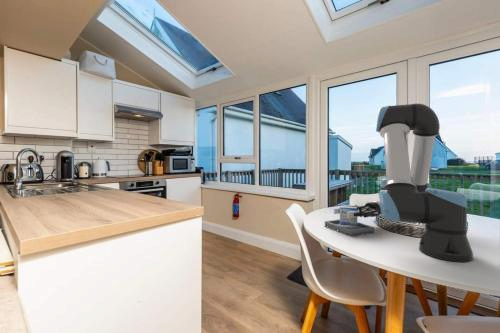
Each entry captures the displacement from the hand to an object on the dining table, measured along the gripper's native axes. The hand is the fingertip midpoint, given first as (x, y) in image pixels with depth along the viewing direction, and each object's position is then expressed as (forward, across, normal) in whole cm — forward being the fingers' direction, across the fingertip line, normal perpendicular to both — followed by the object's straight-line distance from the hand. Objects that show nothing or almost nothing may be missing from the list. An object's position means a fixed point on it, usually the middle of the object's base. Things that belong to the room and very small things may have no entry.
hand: (340, 213), depth 116 cm
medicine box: (-5, 0, -6) cm, 8 cm away
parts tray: (-5, 0, -8) cm, 10 cm away
